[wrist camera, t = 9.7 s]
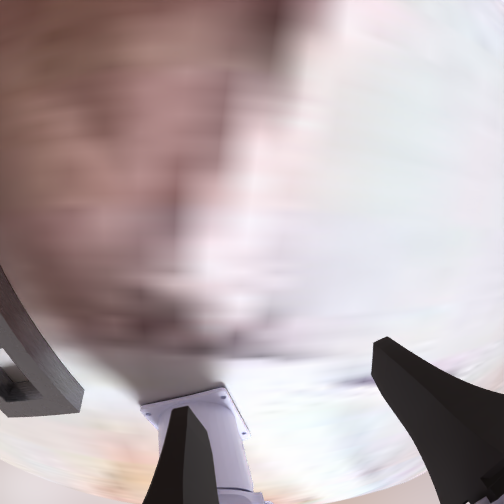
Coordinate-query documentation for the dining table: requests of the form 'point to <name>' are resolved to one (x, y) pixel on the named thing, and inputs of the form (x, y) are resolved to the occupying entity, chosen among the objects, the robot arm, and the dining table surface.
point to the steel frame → (32, 366)
